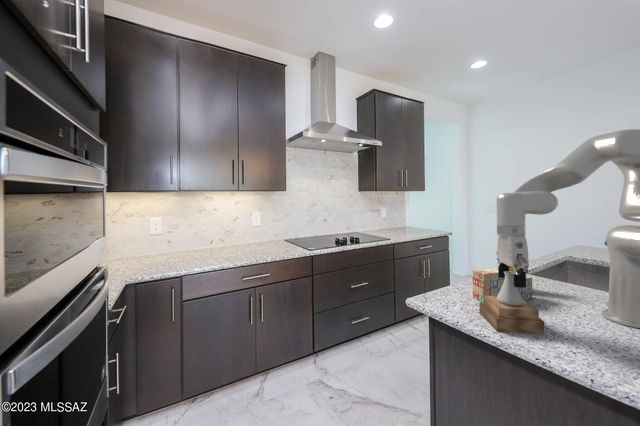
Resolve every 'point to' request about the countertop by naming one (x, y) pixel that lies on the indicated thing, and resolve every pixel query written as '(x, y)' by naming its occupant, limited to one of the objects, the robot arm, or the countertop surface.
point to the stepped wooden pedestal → (511, 316)
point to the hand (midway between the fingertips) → (511, 282)
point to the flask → (509, 291)
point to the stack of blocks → (495, 284)
